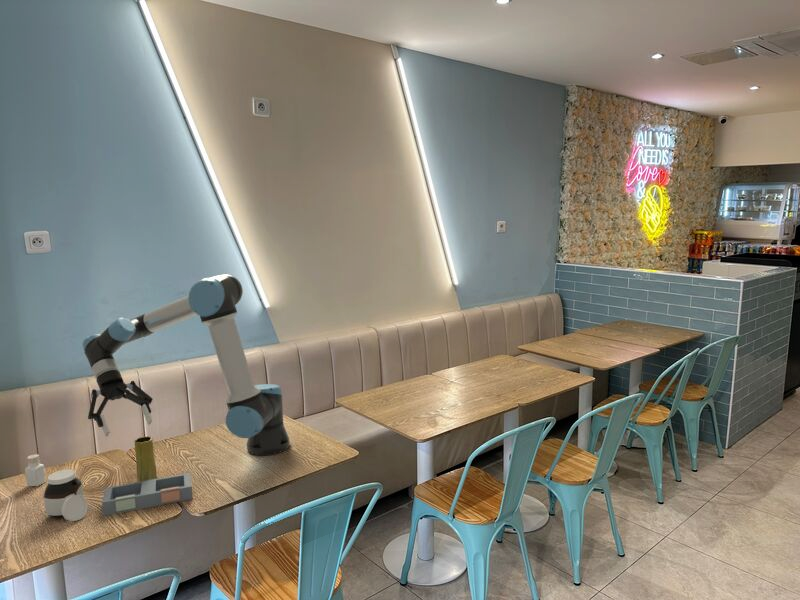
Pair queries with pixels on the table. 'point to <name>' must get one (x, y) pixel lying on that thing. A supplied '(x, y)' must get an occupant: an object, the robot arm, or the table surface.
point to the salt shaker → (35, 471)
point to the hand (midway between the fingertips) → (129, 428)
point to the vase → (145, 459)
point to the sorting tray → (146, 494)
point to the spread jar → (65, 496)
